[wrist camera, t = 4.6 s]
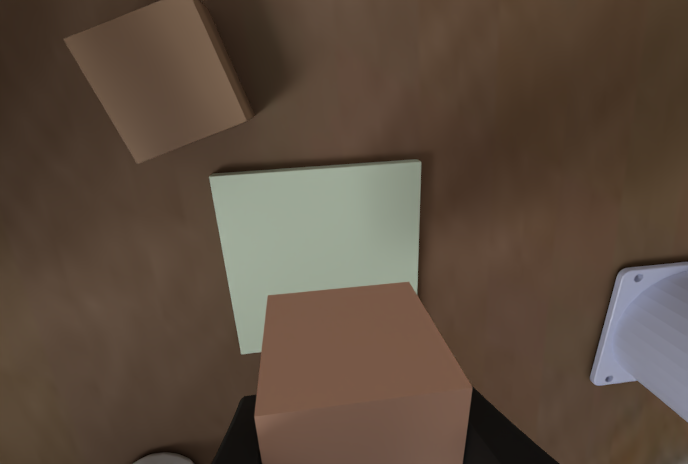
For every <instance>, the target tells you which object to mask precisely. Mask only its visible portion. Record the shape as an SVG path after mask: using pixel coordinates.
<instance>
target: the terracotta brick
mask: <svg viewBox="0 0 688 464" xmlns="http://www.w3.org/2000/svg"><path fill="white" fill-rule="evenodd" d="M472 389H473V387H472V386H471V384H470V382H469V381H468V379H467V377H466V376H465V374H464V372H463V371H462V369H461V367H460V366H459V364H458V362H457V361H456V359H455V357H454V356H453V354H452V352H451V351H450V349H449V347H448V346H447V344H446V342H445V341H444V339H443V337H442V336H441V334H440V332H439V331H438V329H437V327H436V326H435V324H434V322H433V321H432V319H431V317H430V316H429V314H428V312H427V311H426V309H425V307H424V306H423V304H422V302H421V301H420V299H419V297H418V296H417V294H416V292H415V291H414V289H413V287H412V286H411V284H410V282H400V283H390V284H379V285H369V286H359V287H349V288H338V289H328V290H318V291H307V292H297V293H287V294H277V295H268V297H267V306H266V315H265V324H264V333H263V342H262V351H261V360H260V369H259V378H258V387H257V396H256V405H255V414H254V418H255V424H256V430H257V436H258V442H259V448H260V454H261V460H262V464H463V457H464V450H465V442H466V434H467V427H468V419H469V411H470V404H471V396H472Z"/></svg>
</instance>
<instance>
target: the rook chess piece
mask: <svg viewBox="0 0 688 464" xmlns="http://www.w3.org/2000/svg"><path fill="white" fill-rule="evenodd" d="M133 464H194V463H193V462H192V461H191V460H190V459H189V458H187V457H185V456H183V455H180V454H177V453H169V452H161V453H154V454H150V455H148V456H145V457H143V458H141V459H139V460H138V461H136V462H134V463H133Z"/></svg>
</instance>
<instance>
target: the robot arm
mask: <svg viewBox="0 0 688 464" xmlns="http://www.w3.org/2000/svg"><path fill="white" fill-rule="evenodd" d="M590 380H591V381H592V382H593V383H594V384H595V385H597V386H601V385H608V384H615V383H623V382H630V381H637V380H638V381H639V382H640V383H641V384H642V385H644V386H645V387H646V388H647V389H648V390H650V391H651V392H652V393H653V394H654V395H656V396H657V397H658V398H659V399H660V400H662V401H663V402H664V403H665V404H666V405H667V406H669V407H670V408H671V409H672V410H673V411H675V412H676V413H677V414H678V415H679V416H681V417H682V418H683V419H684V420H685V421H687V422H688V262H679V263H669V264H659V265H649V266H639V267H629V268H624V269H622V270H621V271H620V272H619V273H618V275H617V278H616V281H615V285H614V289H613V293H612V296H611V300H610V304H609V307H608V311H607V315H606V319H605V322H604V326H603V330H602V334H601V337H600V341H599V345H598V349H597V352H596V356H595V360H594V364H593V367H592V371H591V375H590ZM471 386H472V385H471ZM472 387H473V386H472ZM256 396H257V395H251V396H244V397H243V398H242V399H241V400H240V403H239V405H238V408H237V410H236V413H235V415H234V417H233V420H232V422H231V424H230V426H229V429H228V431H227V433H226V435H225V437H224V439H223V441H222V443H221V445H220V448H219V450H218V452H217V454H216V456H215V458H214V459H213V461H212V463H211V464H262V460H261V454H260V448H259V442H258V436H257V430H256V424H255V418H254V414H255V405H256ZM463 464H559V463H558V462H557V461H556V460H554V459H553V458H552V457H551V456H550V455H548V454H547V453H546V452H545V451H544V450H542V449H541V448H540V447H539V446H538V445H536V444H535V443H534V442H533V441H532V440H531V439H530V438H529V437H527V436H526V435H525V434H524V433H523V432H522V431H521V430H519V429H518V428H517V427H516V426H515V425H514V424H513V423H511V422H510V421H509V420H508V419H507V418H506V417H505V416H504V415H503V414H501V413H500V412H499V411H498V410H497V409H496V408H495V407H494V406H493V405H492V404H491V403H490V402H489V401H487V400H486V399H485V398H484V397H483V396H482V395H481V394H480V393H479V392H478V391H477V390H476V389H475V388H474V387H473V389H472V396H471V404H470V411H469V419H468V427H467V434H466V442H465V450H464V457H463Z"/></svg>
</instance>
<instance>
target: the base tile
mask: <svg viewBox="0 0 688 464" xmlns="http://www.w3.org/2000/svg"><path fill="white" fill-rule="evenodd" d="M209 179H210V185H211V190H212V196H213V201H214V207H215V212H216V218H217V223H218V229H219V235H220V240H221V246H222V251H223V257H224V262H225V268H226V273H227V279H228V284H229V290H230V295H231V301H232V306H233V312H234V317H235V323H236V328H237V334H238V339H239V345H240V351H241V354H249V353H257V352H261V351H262V342H263V333H264V324H265V315H266V306H267V297H268V295H277V294H287V293H297V292H307V291H318V290H328V289H338V288H349V287H359V286H369V285H379V284H390V283H400V282H410V284H411V286H412V287H413V289H414V291H415V292H416V294H417V284H418V252H419V221H420V189H421V161H419V160H417V159H413V160H399V161H385V162H370V163H356V164H342V165H328V166H313V167H299V168H285V169H271V170H256V171H242V172H228V173H214V174H211V175H210V176H209Z"/></svg>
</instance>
